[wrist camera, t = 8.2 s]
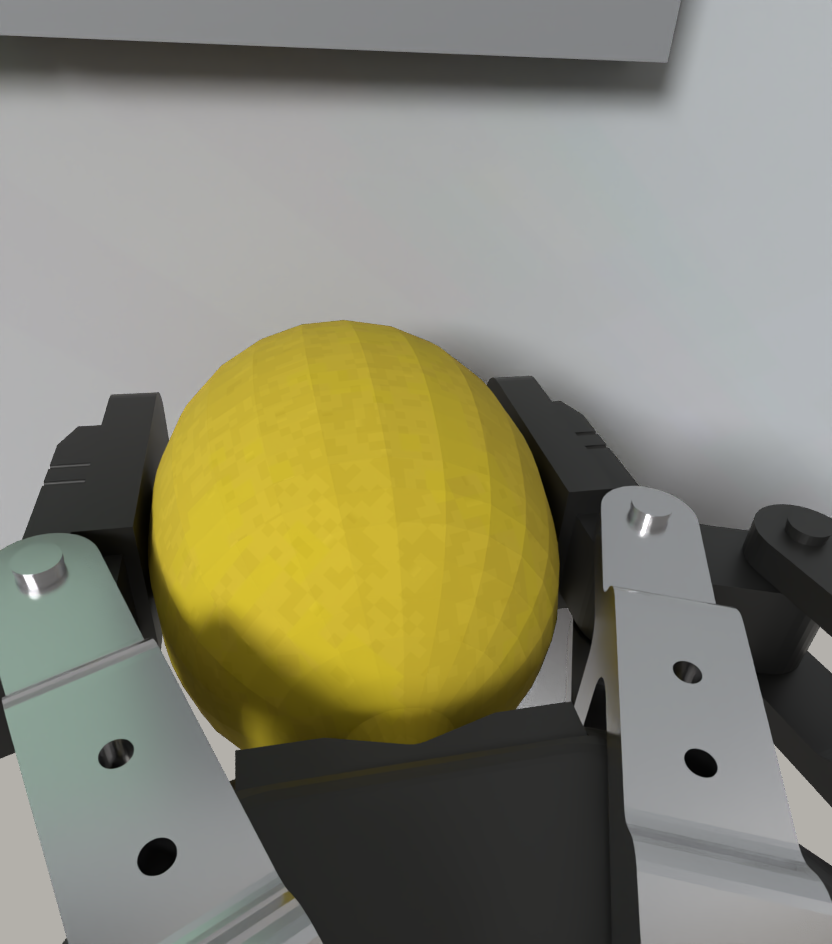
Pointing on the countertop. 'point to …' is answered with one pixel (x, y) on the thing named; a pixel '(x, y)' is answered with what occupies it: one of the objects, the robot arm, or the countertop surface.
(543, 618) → the lemon
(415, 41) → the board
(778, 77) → the countertop surface
